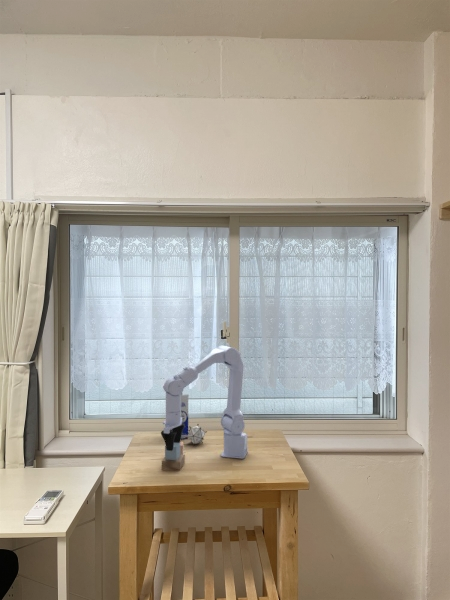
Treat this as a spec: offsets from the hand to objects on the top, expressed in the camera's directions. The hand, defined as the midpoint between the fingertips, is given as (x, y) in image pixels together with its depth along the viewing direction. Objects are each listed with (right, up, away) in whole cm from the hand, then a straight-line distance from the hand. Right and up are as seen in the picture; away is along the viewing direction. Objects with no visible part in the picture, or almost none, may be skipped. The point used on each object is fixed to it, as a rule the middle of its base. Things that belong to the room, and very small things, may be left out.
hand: (173, 446), depth 161 cm
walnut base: (0, -8, 0) cm, 8 cm away
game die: (+7, -7, +24) cm, 26 cm away
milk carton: (-1, -7, +33) cm, 34 cm away
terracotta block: (0, -7, +10) cm, 13 cm away
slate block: (0, -4, 0) cm, 4 cm away
